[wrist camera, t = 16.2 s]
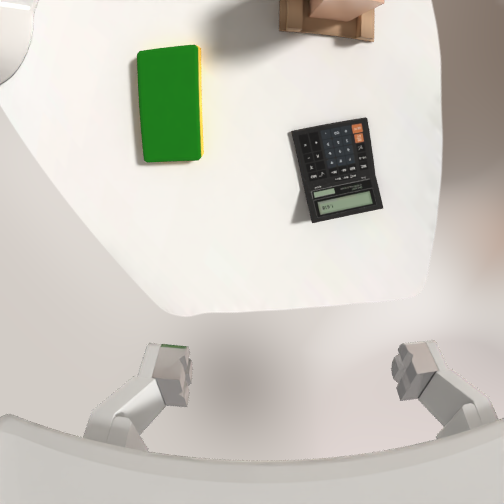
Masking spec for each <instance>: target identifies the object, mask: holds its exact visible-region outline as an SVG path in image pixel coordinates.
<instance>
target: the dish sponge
mask: <svg viewBox="0 0 504 504" xmlns="http://www.w3.org/2000/svg"><path fill="white" fill-rule="evenodd" d="M137 70H138V92H139V108H140V122H141V134H142V145H143V155H144V160H145V161H146V162H167V161H195V160H199V159H200V158H201V157H202V155H203V154H204V150H203V125H202V90H201V48H200V47H198V46H197V45H185V46H175V47H166V48H158V49H151V50H144V51H139V53H138V54H137Z"/></svg>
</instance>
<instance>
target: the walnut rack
mask: <svg viewBox="0 0 504 504" xmlns="http://www.w3.org/2000/svg"><path fill="white" fill-rule="evenodd" d="M308 14H309V0H280V13H279V31H286V32H301V33H312V34H322V35H331V36H338V37H345V38H352V39H358V40H364V41H370V42H374V9H372V10H370V11H368V12H366V13H364V14H362V15H360V16H358V17H356V18H354V19H352V20H350V21H348V22H344V21H337V20H329V19H321V18H312V17H308Z"/></svg>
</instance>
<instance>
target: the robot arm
mask: <svg viewBox="0 0 504 504" xmlns="http://www.w3.org/2000/svg"><path fill="white" fill-rule="evenodd" d="M37 3H38V0H0V83H2V82H4V81H6V80H7V79H8V78H10V77H11V76H12V75H13V74H14V73H15V71H16V70H17V69H18V67H19V66H20V65H21V63H22V61H23V59H24V57H25V55H26V53H27V51H28V48H29V45H30V42H31V38H32V33H33V18H34V11H35V8H36V6H37ZM398 352H399V354H398V355H397V356H395V357H394V359H393V362H392V368H391V369H392V376H393V379H394V380H395V381H396V382H398V385H397V391H398V395H399V398H400V401H403V400H410V399H417V398H419V399H418V400H419V401H420V402H421V403H422V404H423V405H424V406H425V407H426V408H427V409H428V410H429V411H430V413H431V414H432V415H434V417H435V418H436V419H437V420H438V421H439V422H440V423H441V424H442V425H443V426H444V428H443V429H442V430H441V431H440V432H439V433H438V434H437V436H436V438H437V439H436V440H432V441H428V442H423V443H419V444H415V445H410V446H405V447H400V448H395V449H390V450H384V451H378V452H372V453H365V454H358V455H350V456H341V457H332V458H319V459H306V460H283V461H282V460H281V461H248V460H246V461H245V460H221V459H207V458H196V457H186V456H177V455H169V454H162V453H155V452H148V448H147V446H146V445H145V443H144V441H143V440H142V438H141V437H140V434H141V433H142V432H143V431H144V430H145V429H146V428H147V427H148V426H149V424H150V423H151V422H152V421H153V420H154V419H155V418H156V417H157V416H158V414H159V413H160V412H161V411H162V410H163V409H164V408H165V405H167V406H179V407H187V405H188V398H189V389H188V386H189V385H190V384H191V381H192V370H193V369H192V361H191V359H189V354H190V351H189V347H187V346H177V345H167V344H156V343H149V344H148V345H147V347H146V350H145V353H144V357H143V360H142V363H141V366H140V370H139V373H138V376H133V377H132V378H131V379H130V380H128V381H127V382H126V383H125V384H124V385H122V386H121V387H120V388H119V389H117V390H116V391H115V392H114V393H113V394H111V395H110V396H109V397H108V398H106V399H105V400H104V401H103V402H102V403H100V404H99V405H98V406H97V407H95V408H94V409H93V410H92V413H91V415H90V418H89V421H88V424H87V427H86V430H85V433H84V436H83V438H82V437H79V436H75V435H71V434H68V433H64V432H61V431H58V430H55V429H52V428H48V427H45V426H42V425H39V424H37V423H33V422H31V421H28V420H26V419H23V418H20V417H18V416H15V415H11V414H6V415H4V416H1V417H0V504H504V418H502V419H499V420H498V418H497V415H496V412H495V410H494V408H493V405H492V403H491V401H490V399H489V397H488V396H486V395H485V394H484V393H483V392H482V391H480V390H479V389H478V388H476V387H475V386H474V385H472V384H471V383H470V382H468V381H467V380H466V379H465V378H463V377H462V376H461V375H459V374H458V373H457V372H455V371H454V370H453V369H449V368H448V365H447V363H446V361H445V359H444V357H443V355H442V353H441V351H440V349H439V347H438V345H437V343H436V342H435V341H434V340H431V341H420V342H412V343H403V344H401V345H400V347H399V348H398Z"/></svg>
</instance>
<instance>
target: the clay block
mask: <svg viewBox="0 0 504 504" xmlns="http://www.w3.org/2000/svg"><path fill="white" fill-rule="evenodd" d="M382 4H384V0H309V14H308V17H312V18H321V19H329V20H337V21H344V22H348V21H350V20H352V19H354V18H356V17H358V16H360V15H362V14H364V13H366V12H368V11H370V10H372V9H374V8H376V7H378V6H380V5H382Z"/></svg>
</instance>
